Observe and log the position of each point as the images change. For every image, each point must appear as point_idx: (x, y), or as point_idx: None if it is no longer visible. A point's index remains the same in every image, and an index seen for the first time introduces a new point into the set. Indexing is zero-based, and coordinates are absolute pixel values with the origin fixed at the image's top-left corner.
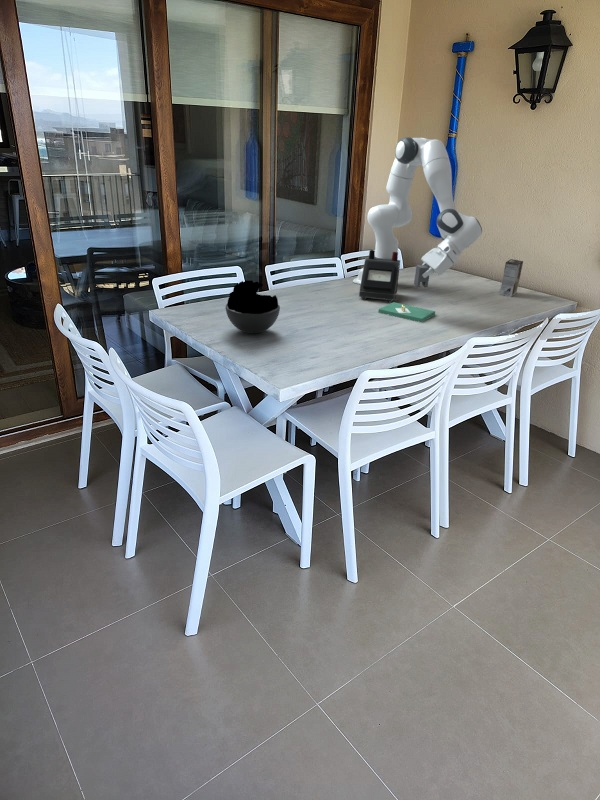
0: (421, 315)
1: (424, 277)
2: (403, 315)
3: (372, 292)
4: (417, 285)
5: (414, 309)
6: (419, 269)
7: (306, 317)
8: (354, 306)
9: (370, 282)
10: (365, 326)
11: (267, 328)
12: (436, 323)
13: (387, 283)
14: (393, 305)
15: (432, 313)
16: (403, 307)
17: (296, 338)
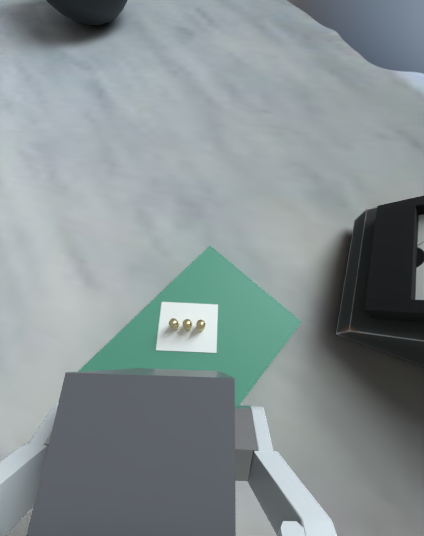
0: None
1: None
2: (139, 314)
3: (361, 248)
4: (133, 368)
5: None
6: (86, 372)
7: (173, 92)
8: (270, 199)
9: (398, 222)
10: (82, 187)
11: (60, 12)
12: None
13: (397, 288)
14: (256, 309)
15: None
16: (171, 319)
17: (42, 63)
